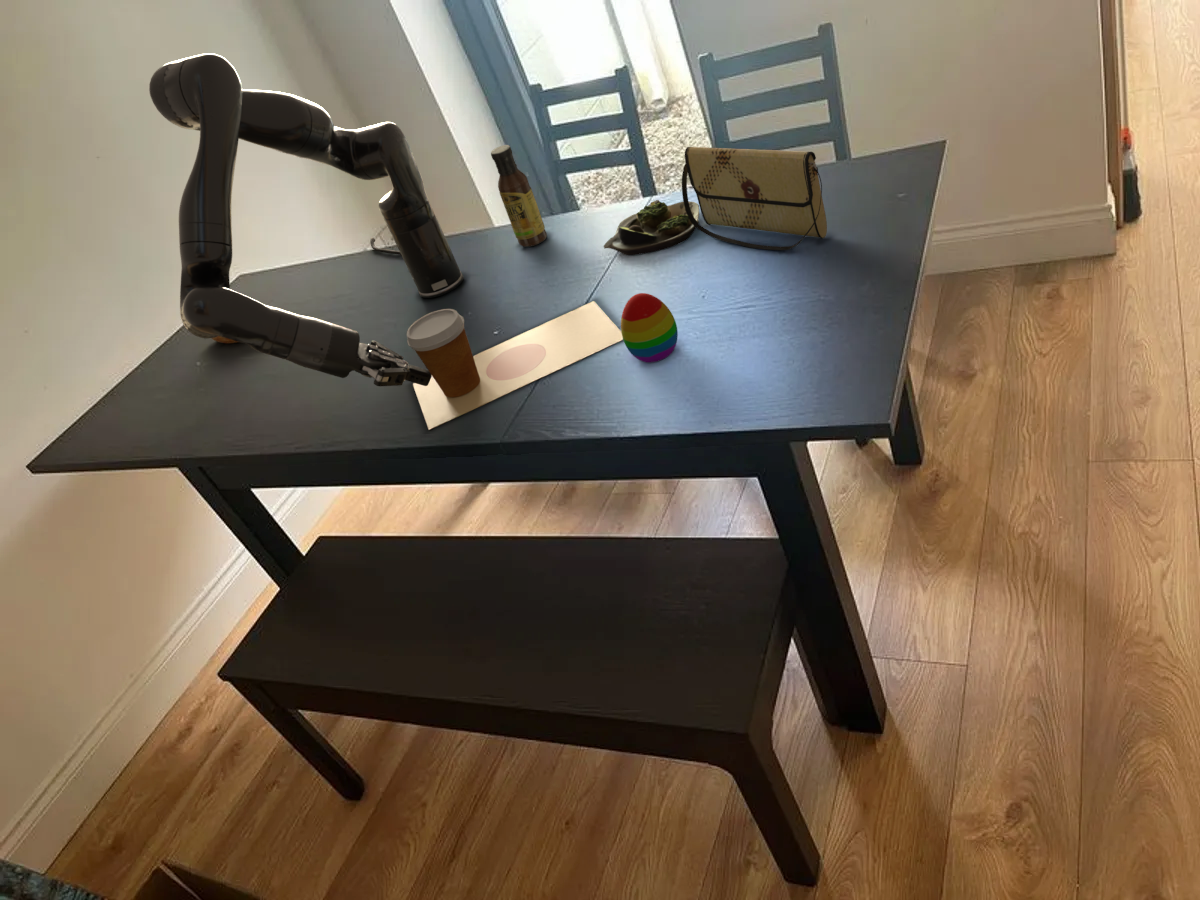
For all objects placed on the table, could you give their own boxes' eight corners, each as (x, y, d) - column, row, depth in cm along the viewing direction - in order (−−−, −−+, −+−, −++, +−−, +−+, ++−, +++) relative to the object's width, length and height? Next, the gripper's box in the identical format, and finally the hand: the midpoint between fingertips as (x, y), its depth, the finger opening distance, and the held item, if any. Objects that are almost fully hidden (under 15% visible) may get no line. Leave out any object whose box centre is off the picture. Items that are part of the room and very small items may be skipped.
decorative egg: (675, 331, 145) (658, 274, 140) (688, 355, 138) (670, 296, 133) (626, 349, 146) (606, 294, 140) (636, 374, 139) (616, 317, 133)
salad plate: (619, 217, 188) (612, 196, 186) (706, 197, 182) (700, 175, 180) (602, 263, 174) (595, 241, 171) (696, 243, 168) (690, 219, 165)
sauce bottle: (513, 248, 193) (477, 156, 182) (533, 233, 196) (498, 142, 185) (535, 249, 189) (499, 155, 178) (555, 234, 192) (520, 141, 181)
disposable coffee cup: (480, 398, 148) (450, 334, 141) (427, 408, 151) (395, 345, 144) (496, 365, 155) (468, 302, 148) (445, 374, 158) (415, 313, 151)
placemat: (412, 384, 159) (412, 383, 159) (593, 301, 162) (593, 300, 162) (429, 430, 145) (428, 429, 145) (626, 338, 148) (626, 337, 148)
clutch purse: (683, 238, 171) (660, 160, 163) (708, 220, 174) (687, 142, 166) (816, 257, 150) (797, 168, 141) (842, 235, 153) (825, 147, 144)
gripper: (333, 340, 136) (444, 375, 144) (327, 308, 147) (431, 342, 155) (316, 386, 138) (427, 417, 146) (311, 351, 149) (414, 382, 157)
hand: (429, 378), depth 150 cm, fingers closed
